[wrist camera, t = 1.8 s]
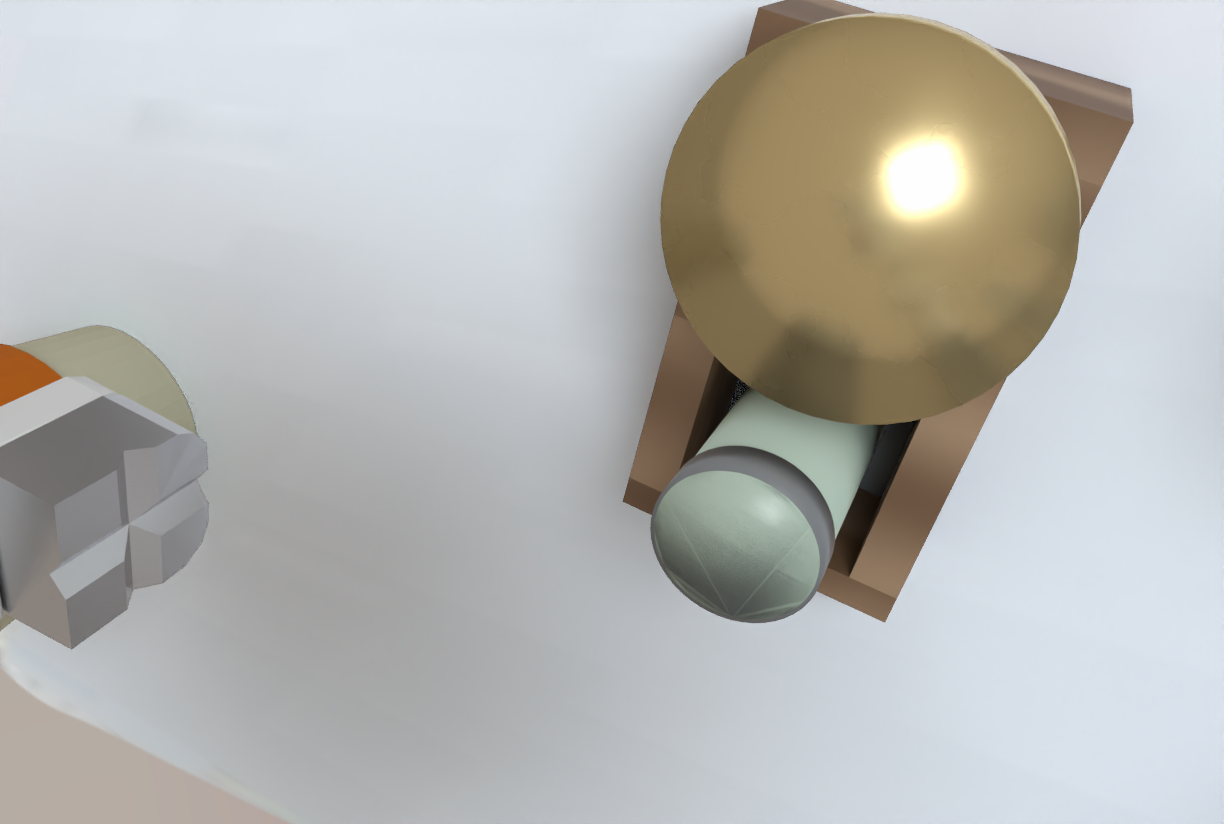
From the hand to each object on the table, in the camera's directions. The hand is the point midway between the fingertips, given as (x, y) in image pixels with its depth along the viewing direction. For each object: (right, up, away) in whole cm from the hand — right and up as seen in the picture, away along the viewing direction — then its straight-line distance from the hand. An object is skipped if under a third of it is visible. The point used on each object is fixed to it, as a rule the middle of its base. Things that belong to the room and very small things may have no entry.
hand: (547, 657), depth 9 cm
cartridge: (+8, +3, +24) cm, 25 cm away
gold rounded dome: (+8, +9, +17) cm, 21 cm away
